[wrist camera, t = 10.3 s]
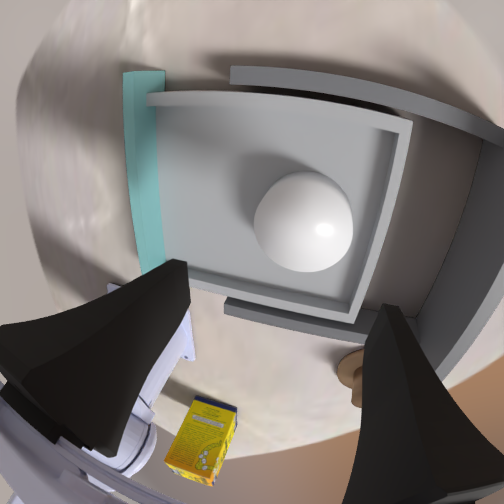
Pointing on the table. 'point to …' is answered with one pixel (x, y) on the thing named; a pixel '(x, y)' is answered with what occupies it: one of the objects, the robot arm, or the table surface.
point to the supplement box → (202, 441)
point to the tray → (255, 186)
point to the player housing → (461, 250)
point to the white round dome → (304, 222)
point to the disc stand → (352, 375)
